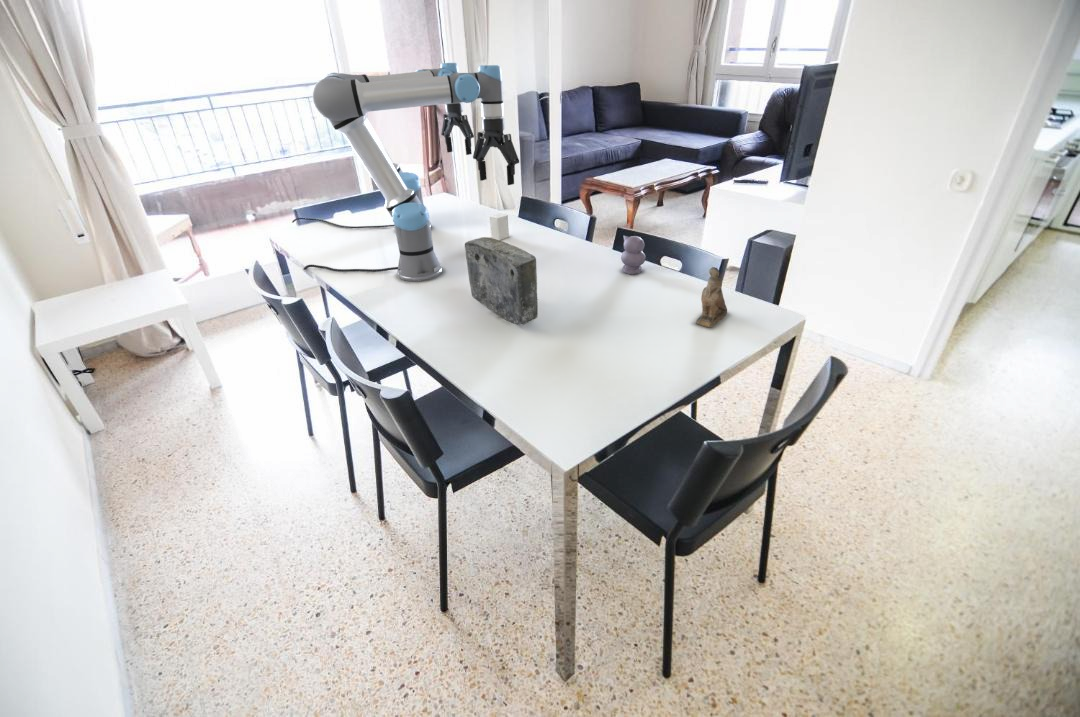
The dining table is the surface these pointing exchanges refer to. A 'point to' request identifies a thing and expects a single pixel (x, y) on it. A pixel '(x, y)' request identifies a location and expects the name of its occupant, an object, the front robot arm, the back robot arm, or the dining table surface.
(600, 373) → the dining table surface
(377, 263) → the dining table surface
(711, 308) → the brown carved statuette
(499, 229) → the white rectangular block
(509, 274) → the concrete block
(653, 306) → the dining table surface
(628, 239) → the cat figurine
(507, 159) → the front robot arm
